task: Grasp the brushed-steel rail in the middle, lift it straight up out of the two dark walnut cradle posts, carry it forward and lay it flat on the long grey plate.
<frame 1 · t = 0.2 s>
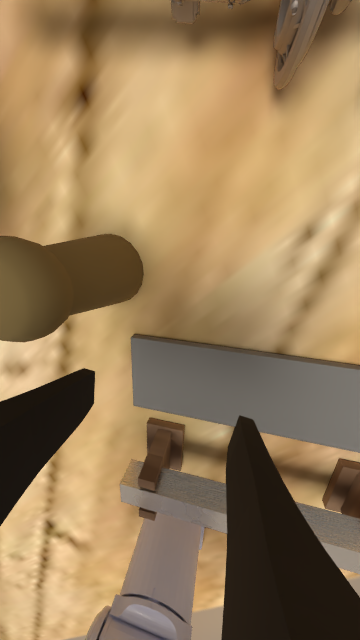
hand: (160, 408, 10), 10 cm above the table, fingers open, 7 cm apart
long grey plate: (267, 392, 20), on the table
cradle rack: (252, 461, 23), on the table
spaceship: (287, 36, 12), on the table
steel rail: (255, 500, 20), point 4 cm above the table, touching cradle rack
cork: (112, 269, 20), on the table
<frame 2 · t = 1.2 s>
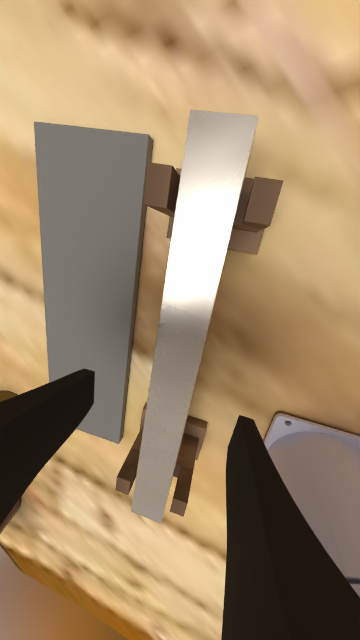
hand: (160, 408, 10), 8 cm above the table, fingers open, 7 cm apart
long grey plate: (91, 315, 19), on the table
cradle rack: (191, 341, 18), on the table
steel rail: (180, 366, 14), point 4 cm above the table, touching cradle rack
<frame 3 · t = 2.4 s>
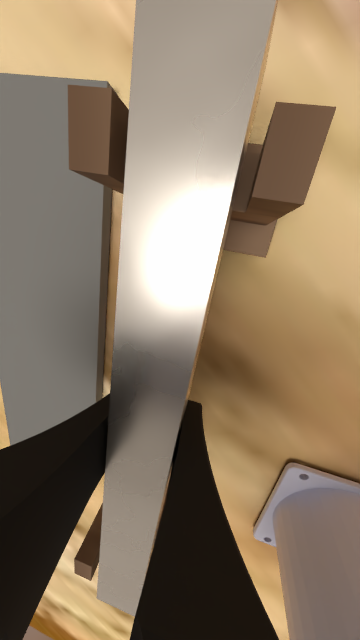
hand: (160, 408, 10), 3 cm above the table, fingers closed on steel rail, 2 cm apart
long grey plate: (51, 334, 15), on the table
cradle rack: (177, 370, 14), on the table
steel rail: (157, 414, 10), point 4 cm above the table, touching cradle rack, gripper
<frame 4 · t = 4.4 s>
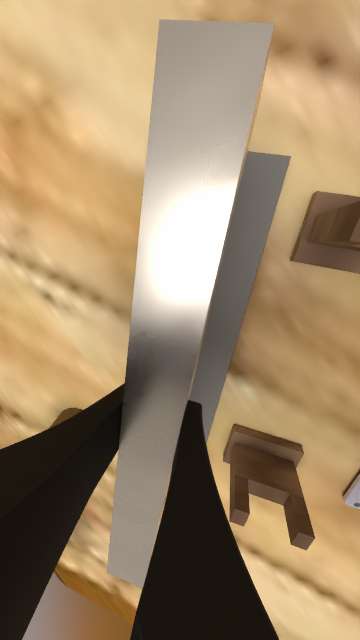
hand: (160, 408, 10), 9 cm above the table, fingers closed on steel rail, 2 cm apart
long grey plate: (185, 336, 18), on the table
cradle rack: (296, 364, 17), on the table
steel rail: (164, 399, 11), point 8 cm above the table, touching gripper
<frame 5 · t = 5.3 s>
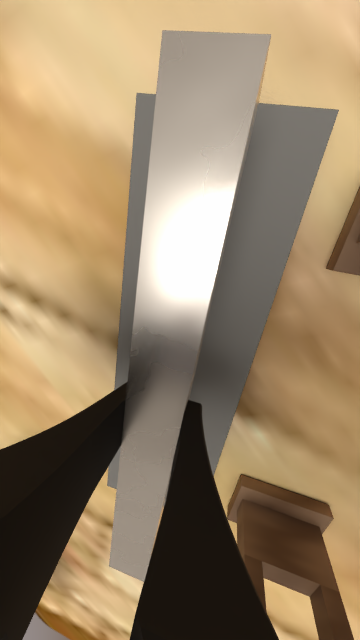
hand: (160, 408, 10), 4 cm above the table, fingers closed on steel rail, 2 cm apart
long grey plate: (179, 366, 14), on the table
cradle rack: (327, 407, 13), on the table
steel rail: (165, 396, 11), point 3 cm above the table, touching gripper
when the fingers open (2 cm above the table, at t = 6.3 s): steel rail stays where it is, resting on long grey plate.
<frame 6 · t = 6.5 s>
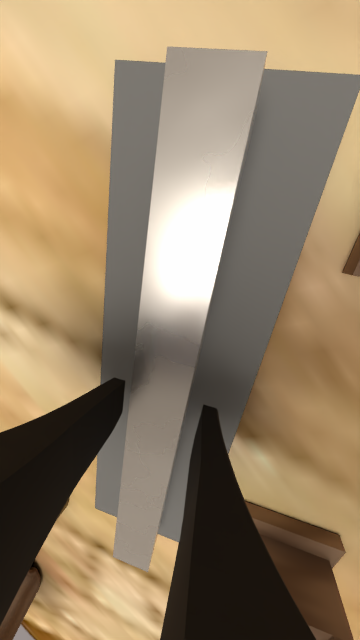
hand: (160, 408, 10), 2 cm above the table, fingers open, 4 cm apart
plant pot: (1, 552, 27), on the table
long grey plate: (172, 381, 12), on the table
cradle rack: (340, 430, 11), on the table
steel rail: (168, 390, 12), point 1 cm above the table, touching long grey plate
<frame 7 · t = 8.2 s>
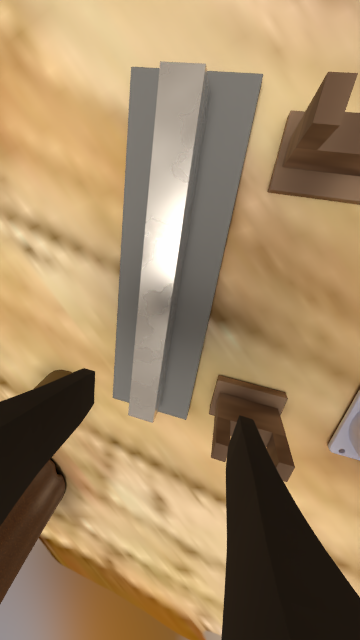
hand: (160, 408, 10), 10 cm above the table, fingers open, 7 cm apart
plant pot: (31, 469, 33), on the table
long grey plate: (167, 283, 18), on the table
cradle rack: (277, 305, 17), on the table
steel rail: (165, 285, 18), point 1 cm above the table, touching long grey plate
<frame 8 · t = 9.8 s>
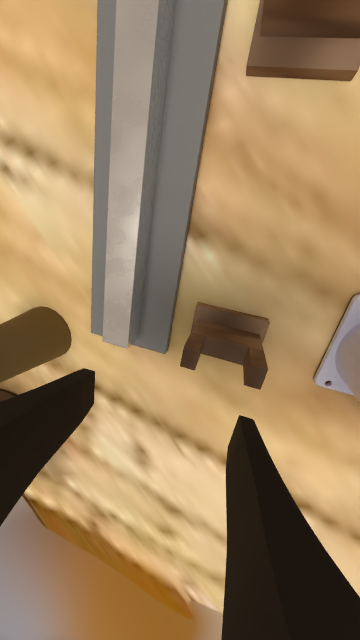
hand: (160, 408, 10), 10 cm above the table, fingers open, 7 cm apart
long grey plate: (144, 196, 17), on the table
cradle rack: (258, 214, 16), on the table
steel rail: (140, 194, 17), point 1 cm above the table, touching long grey plate
cork: (49, 331, 25), on the table
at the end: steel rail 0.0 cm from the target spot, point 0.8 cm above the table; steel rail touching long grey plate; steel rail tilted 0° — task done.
